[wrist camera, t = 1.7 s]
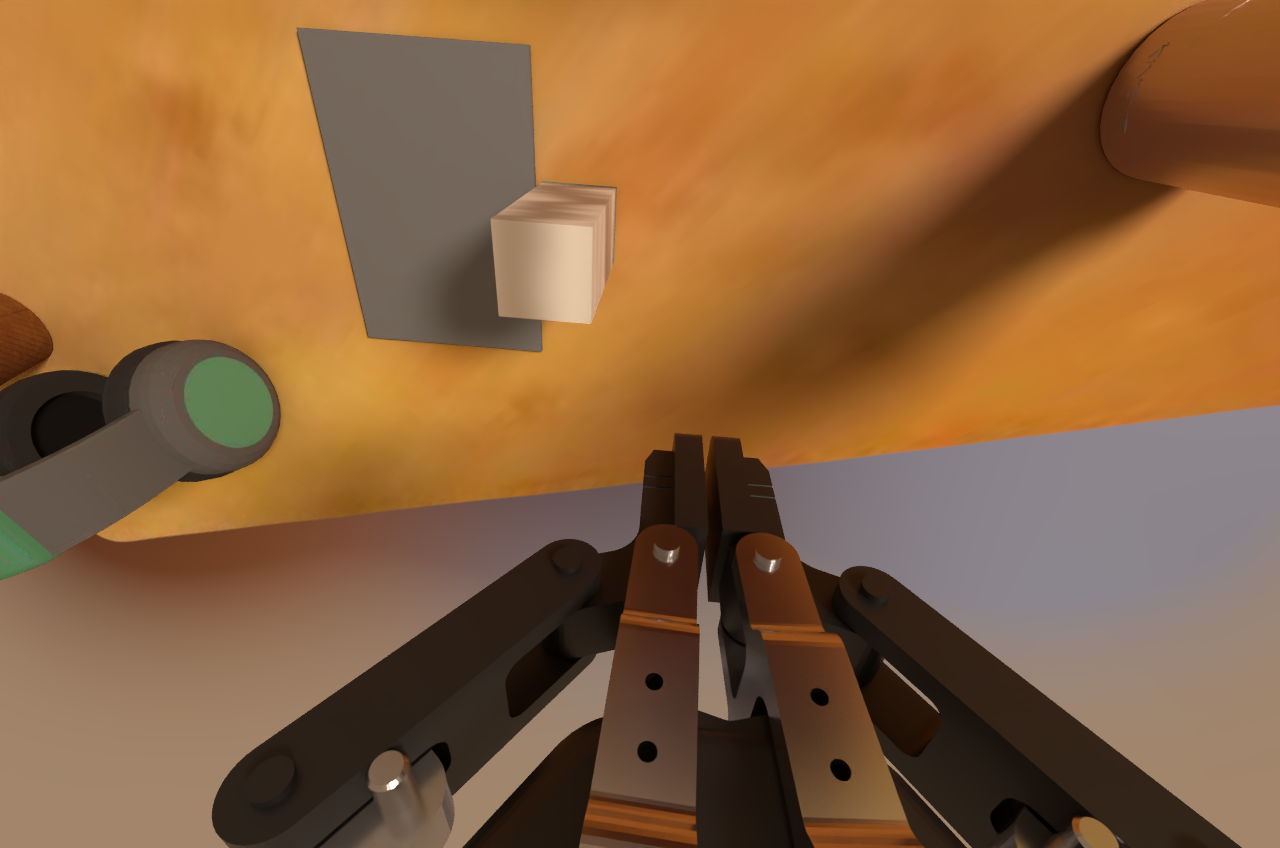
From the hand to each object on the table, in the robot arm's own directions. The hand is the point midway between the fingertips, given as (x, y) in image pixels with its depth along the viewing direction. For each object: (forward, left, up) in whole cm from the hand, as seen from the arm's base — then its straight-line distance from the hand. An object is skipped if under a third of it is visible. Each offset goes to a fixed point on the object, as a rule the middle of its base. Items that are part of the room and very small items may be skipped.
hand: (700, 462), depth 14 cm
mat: (+18, 0, -27) cm, 32 cm away
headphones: (+43, +17, -27) cm, 53 cm away
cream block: (+8, 0, -27) cm, 28 cm away
